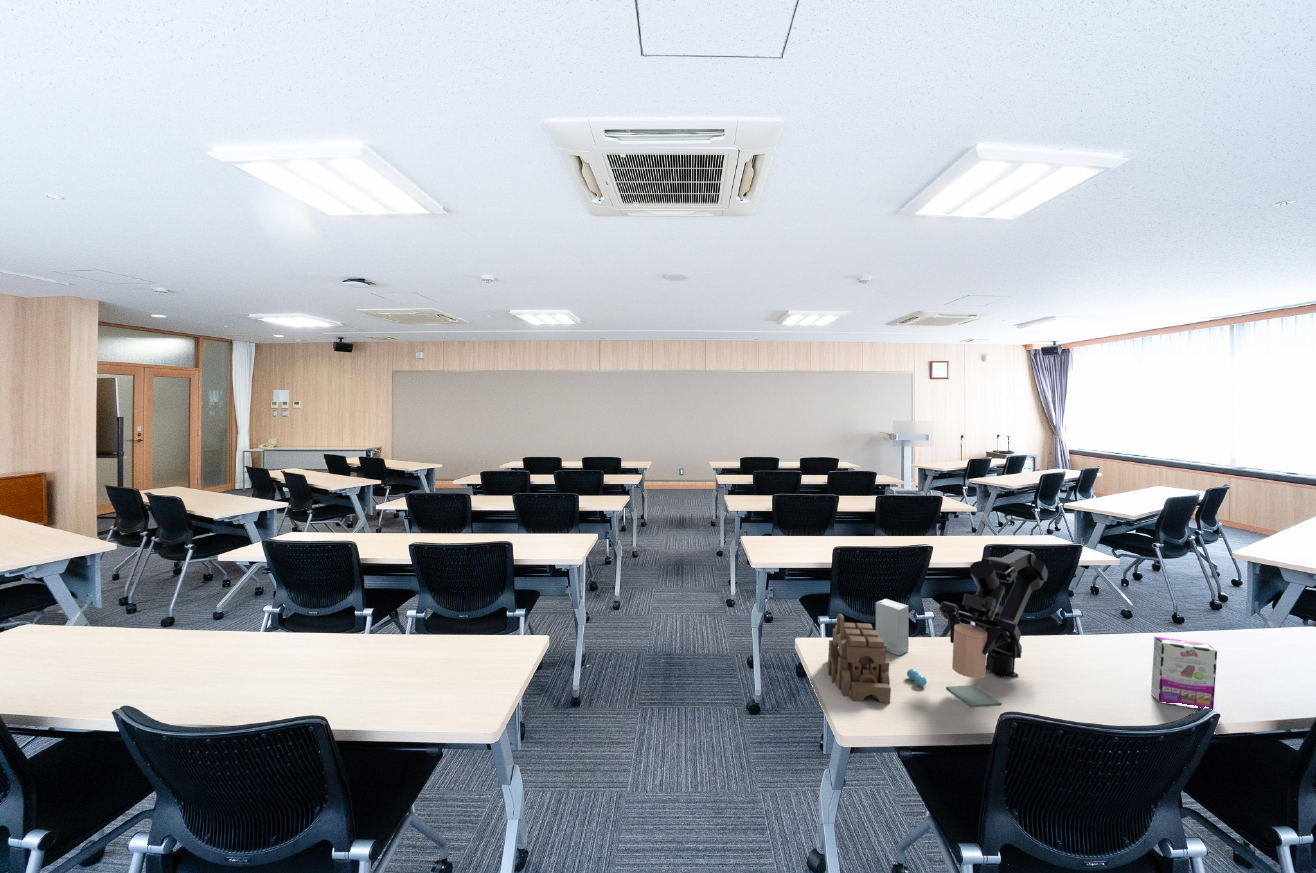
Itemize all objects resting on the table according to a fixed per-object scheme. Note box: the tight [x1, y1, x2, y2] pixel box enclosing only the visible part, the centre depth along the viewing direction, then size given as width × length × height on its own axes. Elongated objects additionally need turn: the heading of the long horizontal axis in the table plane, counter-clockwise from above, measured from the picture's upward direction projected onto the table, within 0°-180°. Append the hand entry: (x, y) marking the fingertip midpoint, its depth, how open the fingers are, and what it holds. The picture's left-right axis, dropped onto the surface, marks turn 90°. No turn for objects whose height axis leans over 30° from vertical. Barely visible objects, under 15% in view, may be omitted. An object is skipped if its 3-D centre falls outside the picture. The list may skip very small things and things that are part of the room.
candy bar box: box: [1150, 636, 1218, 711], centre depth 139 cm, size 11×5×16 cm, turn 68°
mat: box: [945, 684, 1002, 708], centre depth 140 cm, size 9×9×1 cm
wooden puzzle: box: [827, 613, 892, 704], centre depth 146 cm, size 22×15×19 cm, turn 176°
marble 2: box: [913, 674, 928, 688], centre depth 144 cm, size 3×3×3 cm
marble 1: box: [906, 668, 920, 681], centre depth 148 cm, size 3×3×3 cm
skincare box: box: [875, 598, 909, 656], centre depth 166 cm, size 8×6×15 cm
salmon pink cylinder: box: [951, 623, 987, 679], centre depth 140 cm, size 8×8×11 cm
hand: (967, 648), depth 139 cm, fingers closed on salmon pink cylinder, 8 cm apart
